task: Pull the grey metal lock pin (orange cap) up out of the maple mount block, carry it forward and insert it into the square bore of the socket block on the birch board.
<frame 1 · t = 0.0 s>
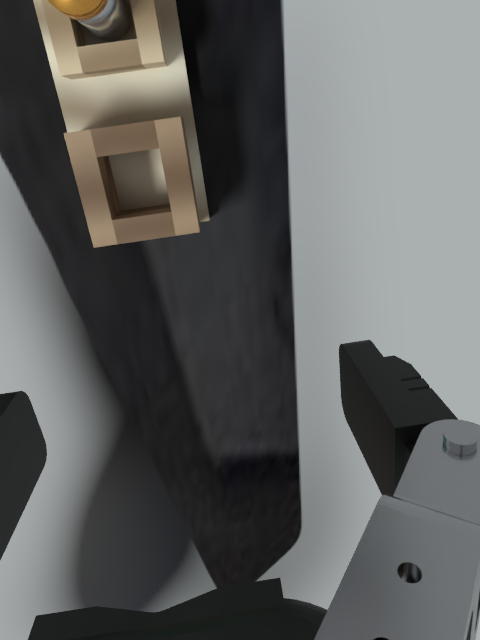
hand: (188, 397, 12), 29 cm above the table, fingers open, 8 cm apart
lock pin: (108, 16, 32), point 1 cm above the table, touching dock board
dock board: (129, 110, 35), on the table
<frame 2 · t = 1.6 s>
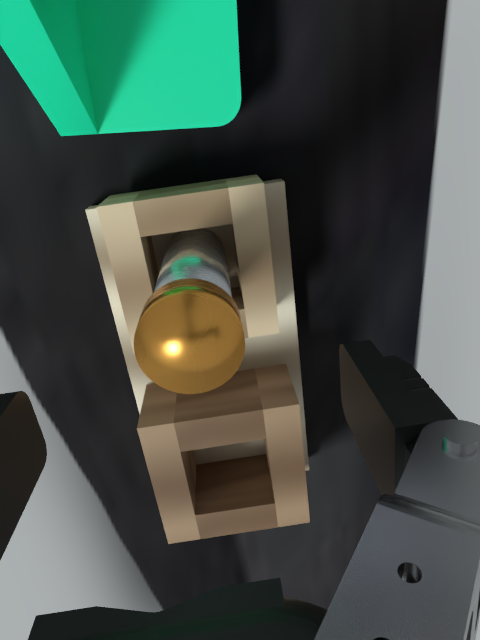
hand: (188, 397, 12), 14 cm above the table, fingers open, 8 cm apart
lock pin: (195, 255, 23), point 1 cm above the table, touching dock board
dock board: (213, 350, 27), on the table
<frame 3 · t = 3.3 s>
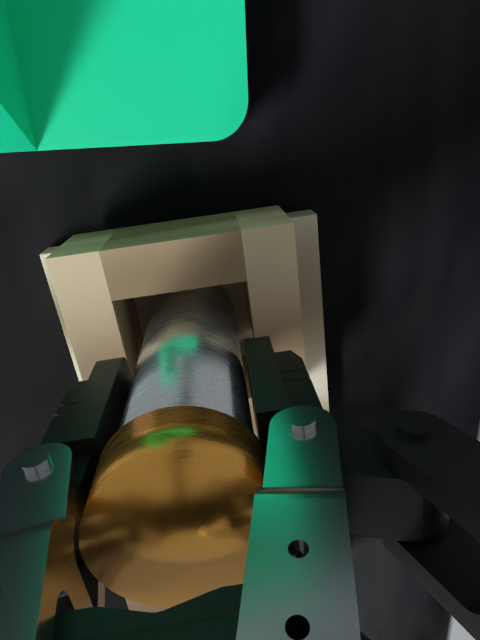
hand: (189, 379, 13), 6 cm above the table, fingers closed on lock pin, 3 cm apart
lock pin: (193, 314, 17), point 1 cm above the table, touching dock board, gripper
dock board: (217, 429, 20), on the table
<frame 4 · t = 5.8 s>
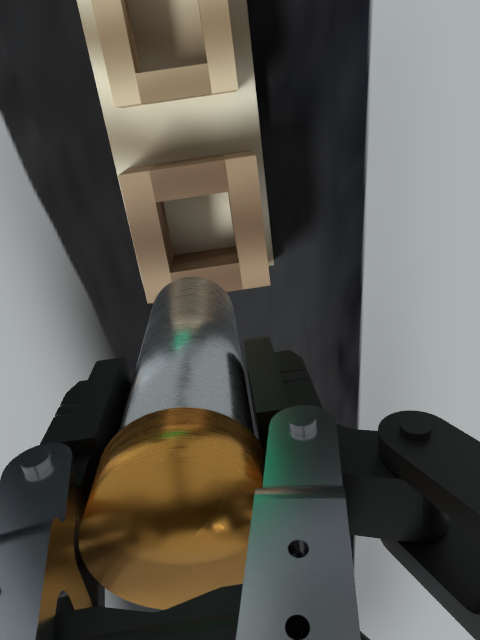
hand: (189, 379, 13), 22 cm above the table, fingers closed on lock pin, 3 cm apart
lock pin: (193, 315, 17), point 17 cm above the table, touching gripper
dock board: (186, 141, 30), on the table
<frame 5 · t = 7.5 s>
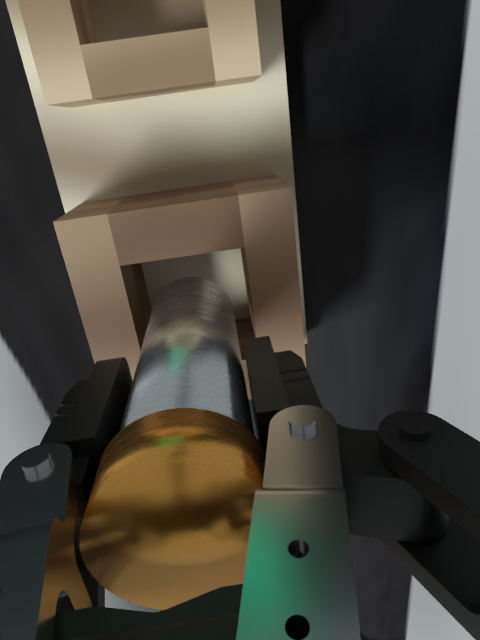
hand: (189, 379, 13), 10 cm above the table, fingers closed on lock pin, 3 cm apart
lock pin: (193, 315, 17), point 5 cm above the table, touching gripper
dock board: (175, 161, 19), on the table
when the fingers open (7 cm above the table, at t = 8.6 s): lock pin drops 1 cm, resting on dock board.
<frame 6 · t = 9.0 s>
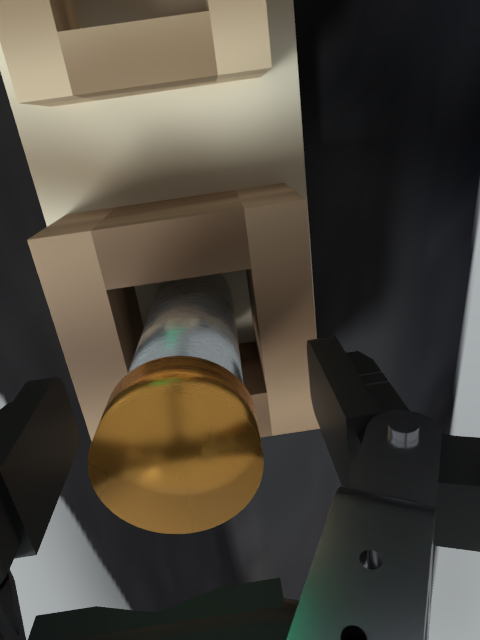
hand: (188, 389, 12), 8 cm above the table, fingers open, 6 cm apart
lock pin: (194, 300, 18), point 1 cm above the table, touching dock board
dock board: (172, 167, 17), on the table
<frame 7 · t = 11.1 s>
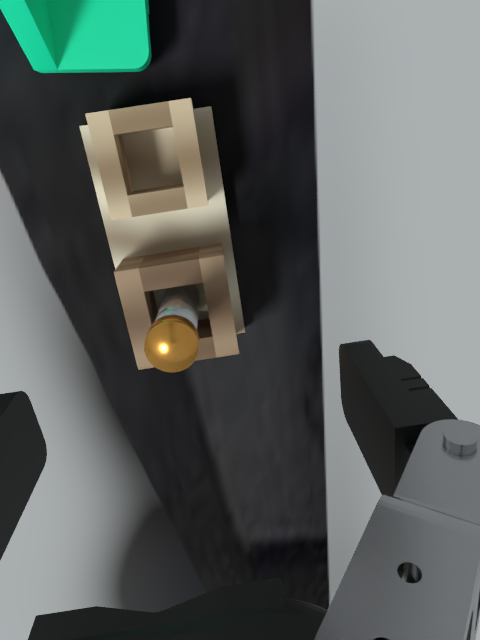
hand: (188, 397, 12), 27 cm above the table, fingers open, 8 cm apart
lock pin: (182, 297, 38), point 1 cm above the table, touching dock board
dock board: (170, 236, 37), on the table
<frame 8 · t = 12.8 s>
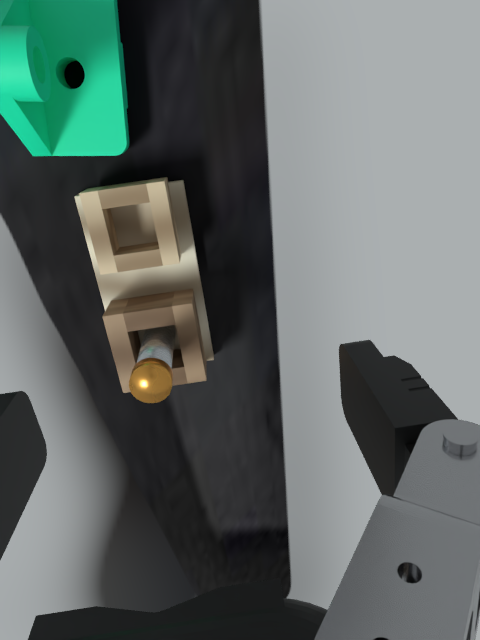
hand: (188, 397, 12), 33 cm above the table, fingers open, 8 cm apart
camera mount: (79, 76, 38), on the table
lock pin: (160, 331, 46), point 1 cm above the table, touching dock board
dock board: (151, 281, 45), on the table
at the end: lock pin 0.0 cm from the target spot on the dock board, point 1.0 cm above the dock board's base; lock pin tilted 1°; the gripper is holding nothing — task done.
